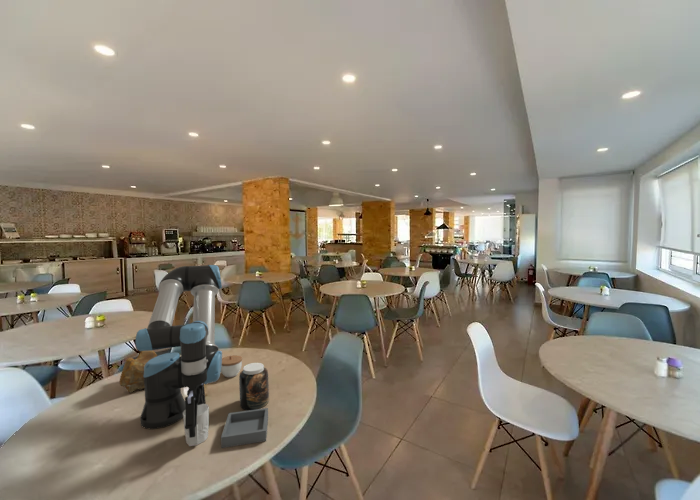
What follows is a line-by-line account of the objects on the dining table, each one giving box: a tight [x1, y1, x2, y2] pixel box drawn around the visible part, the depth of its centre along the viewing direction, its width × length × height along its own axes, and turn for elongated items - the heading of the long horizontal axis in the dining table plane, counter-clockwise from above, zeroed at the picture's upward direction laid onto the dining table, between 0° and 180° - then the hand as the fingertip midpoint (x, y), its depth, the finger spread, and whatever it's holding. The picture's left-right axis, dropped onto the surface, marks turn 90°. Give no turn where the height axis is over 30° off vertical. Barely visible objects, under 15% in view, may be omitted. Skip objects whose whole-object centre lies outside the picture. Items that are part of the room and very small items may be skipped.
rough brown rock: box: [119, 350, 158, 393], centre depth 142 cm, size 23×17×15 cm
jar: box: [238, 362, 270, 411], centre depth 124 cm, size 12×12×15 cm
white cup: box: [182, 403, 210, 445], centre depth 102 cm, size 8×8×10 cm
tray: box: [220, 407, 269, 449], centre depth 106 cm, size 14×14×4 cm
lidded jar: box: [220, 355, 243, 378], centre depth 151 cm, size 11×11×9 cm
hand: (197, 436), depth 103 cm, fingers closed on white cup, 7 cm apart
